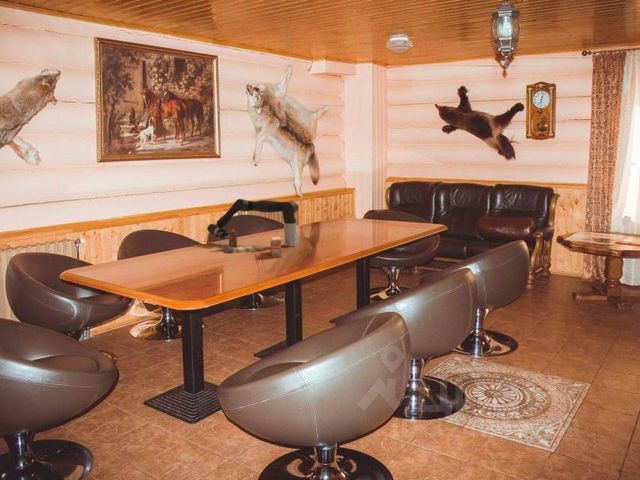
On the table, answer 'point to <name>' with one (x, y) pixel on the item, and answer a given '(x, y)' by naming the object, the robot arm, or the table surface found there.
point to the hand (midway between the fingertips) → (227, 236)
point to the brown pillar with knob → (232, 238)
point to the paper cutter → (241, 248)
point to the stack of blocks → (275, 246)
